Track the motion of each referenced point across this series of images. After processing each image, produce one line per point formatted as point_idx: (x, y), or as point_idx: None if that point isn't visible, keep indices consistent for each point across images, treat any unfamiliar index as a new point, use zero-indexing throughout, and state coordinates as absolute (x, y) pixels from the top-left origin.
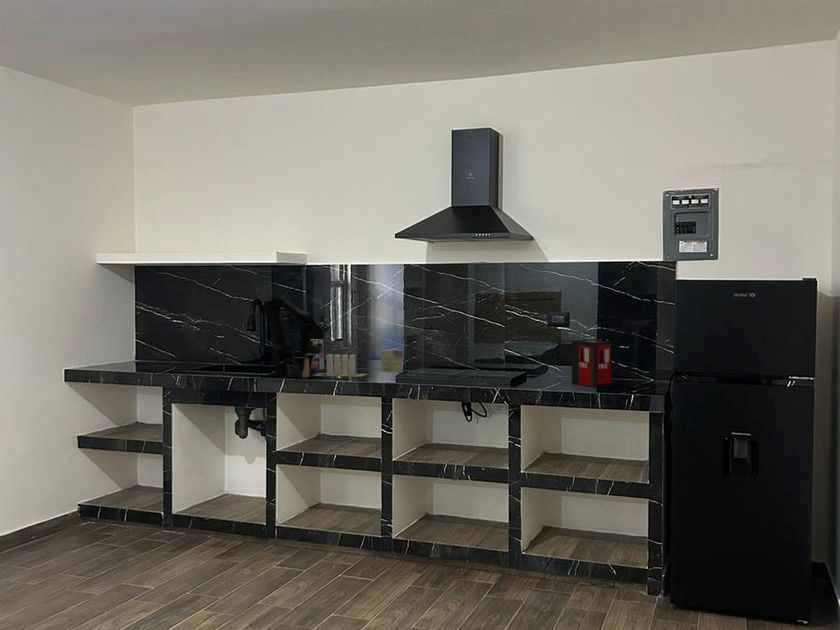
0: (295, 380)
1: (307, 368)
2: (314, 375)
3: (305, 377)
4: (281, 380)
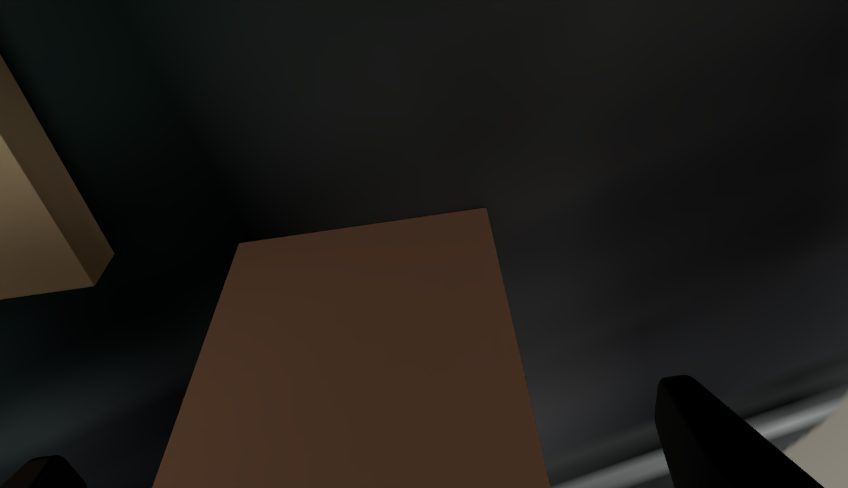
0: (658, 323)
1: (326, 453)
2: (23, 230)
3: (492, 243)
4: (671, 484)
